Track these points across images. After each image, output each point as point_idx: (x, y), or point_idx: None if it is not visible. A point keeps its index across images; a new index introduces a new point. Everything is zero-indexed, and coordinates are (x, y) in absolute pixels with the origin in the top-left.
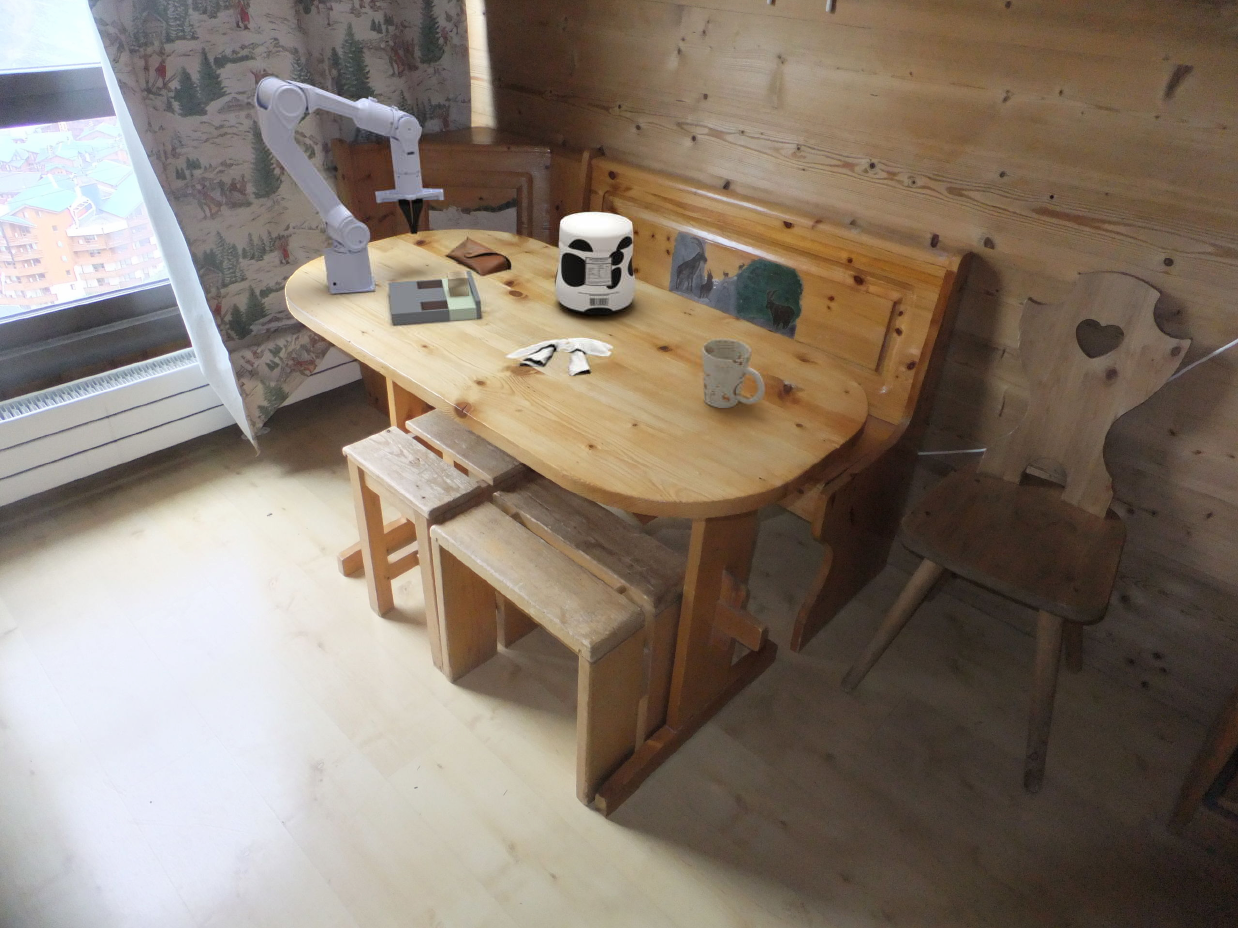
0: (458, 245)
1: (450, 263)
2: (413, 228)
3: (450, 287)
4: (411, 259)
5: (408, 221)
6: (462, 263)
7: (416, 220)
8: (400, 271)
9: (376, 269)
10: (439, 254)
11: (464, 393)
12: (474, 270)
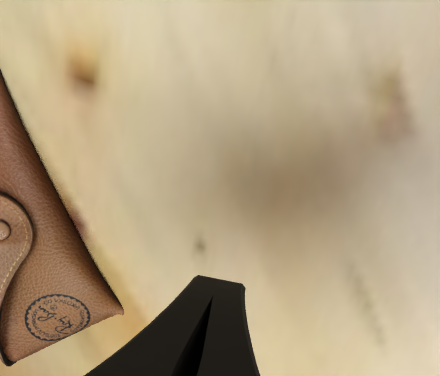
0: (54, 335)
1: (109, 236)
2: (212, 305)
3: None
4: (248, 325)
5: (245, 368)
6: (62, 209)
7: (147, 351)
8: (324, 225)
9: (419, 281)
10: (140, 330)
11: None
12: (17, 120)
